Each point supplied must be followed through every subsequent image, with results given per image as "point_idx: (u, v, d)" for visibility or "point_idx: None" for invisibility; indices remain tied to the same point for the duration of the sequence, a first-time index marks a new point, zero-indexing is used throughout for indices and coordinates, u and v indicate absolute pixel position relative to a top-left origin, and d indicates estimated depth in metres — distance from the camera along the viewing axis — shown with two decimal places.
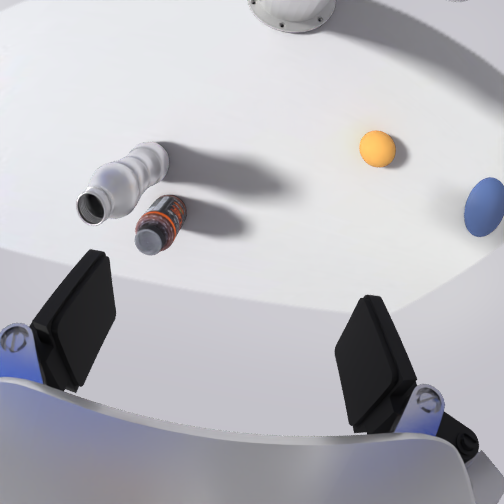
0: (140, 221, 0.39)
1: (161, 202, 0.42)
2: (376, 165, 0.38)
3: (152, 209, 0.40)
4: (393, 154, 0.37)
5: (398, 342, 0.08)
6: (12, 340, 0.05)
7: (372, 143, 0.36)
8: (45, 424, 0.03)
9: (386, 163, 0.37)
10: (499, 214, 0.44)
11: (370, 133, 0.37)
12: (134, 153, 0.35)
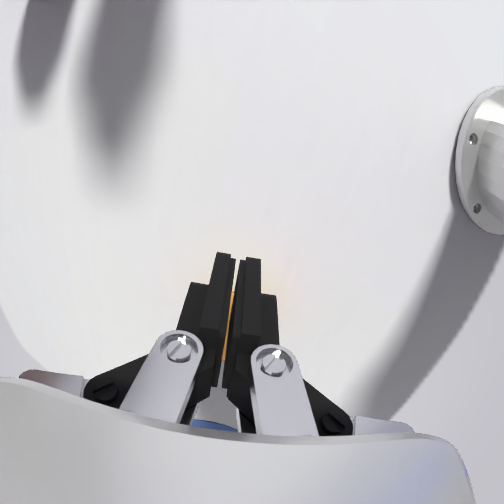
0: None
1: None
2: None
3: None
4: None
5: (256, 299, 0.09)
6: (174, 349, 0.07)
7: None
8: (45, 424, 0.03)
9: None
10: None
11: None
12: None
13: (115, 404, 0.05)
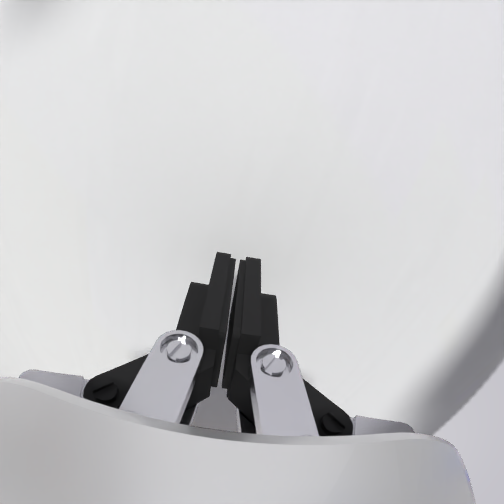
0: None
1: None
2: None
3: None
4: None
5: (256, 299, 0.09)
6: (174, 349, 0.07)
7: None
8: (45, 424, 0.03)
9: None
10: None
11: None
12: None
13: (115, 404, 0.05)
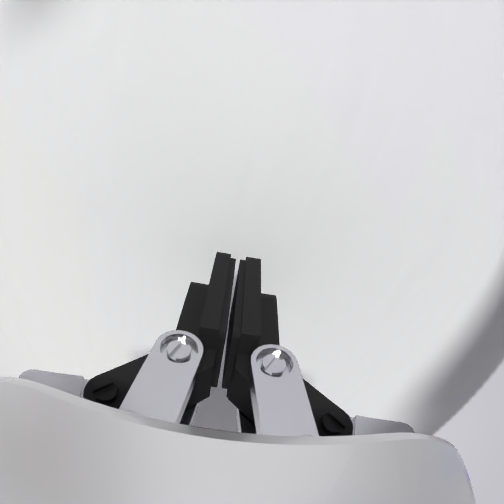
0: None
1: None
2: None
3: None
4: None
5: (256, 299, 0.09)
6: (174, 349, 0.07)
7: None
8: (45, 424, 0.03)
9: None
10: None
11: None
12: None
13: (115, 404, 0.05)
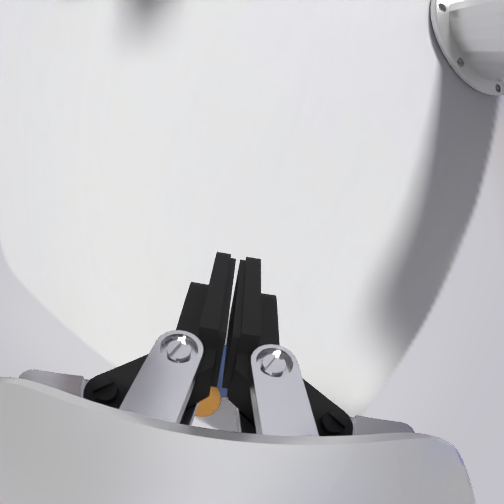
0: None
1: None
2: None
3: None
4: (201, 413, 0.35)
5: (256, 299, 0.09)
6: (174, 349, 0.07)
7: None
8: (45, 424, 0.03)
9: None
10: None
11: (215, 387, 0.37)
12: None
13: (115, 404, 0.05)
